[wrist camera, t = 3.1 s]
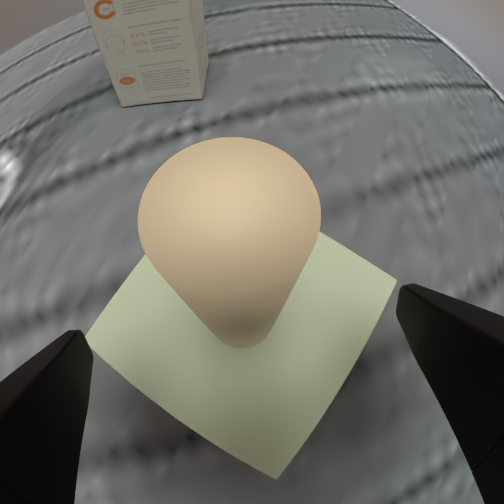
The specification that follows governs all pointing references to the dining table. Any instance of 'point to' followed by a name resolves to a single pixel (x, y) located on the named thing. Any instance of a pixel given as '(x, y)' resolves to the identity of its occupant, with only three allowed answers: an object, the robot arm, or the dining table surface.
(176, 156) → the beige peg on base
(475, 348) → the robot arm
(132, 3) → the small box
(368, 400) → the dining table surface
